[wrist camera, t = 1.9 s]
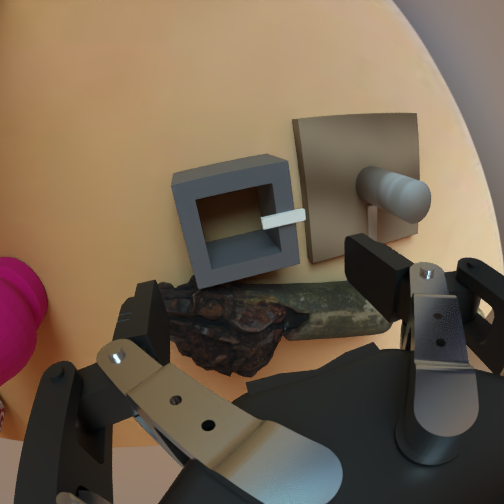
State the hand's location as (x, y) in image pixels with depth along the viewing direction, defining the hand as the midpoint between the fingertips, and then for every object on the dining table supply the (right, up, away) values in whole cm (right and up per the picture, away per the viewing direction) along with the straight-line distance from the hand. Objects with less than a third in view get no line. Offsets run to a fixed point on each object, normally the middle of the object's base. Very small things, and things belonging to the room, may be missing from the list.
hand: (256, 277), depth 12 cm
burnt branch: (+1, -3, +11) cm, 12 cm away
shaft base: (+8, +6, +8) cm, 13 cm away
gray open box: (-2, +4, +7) cm, 8 cm away
